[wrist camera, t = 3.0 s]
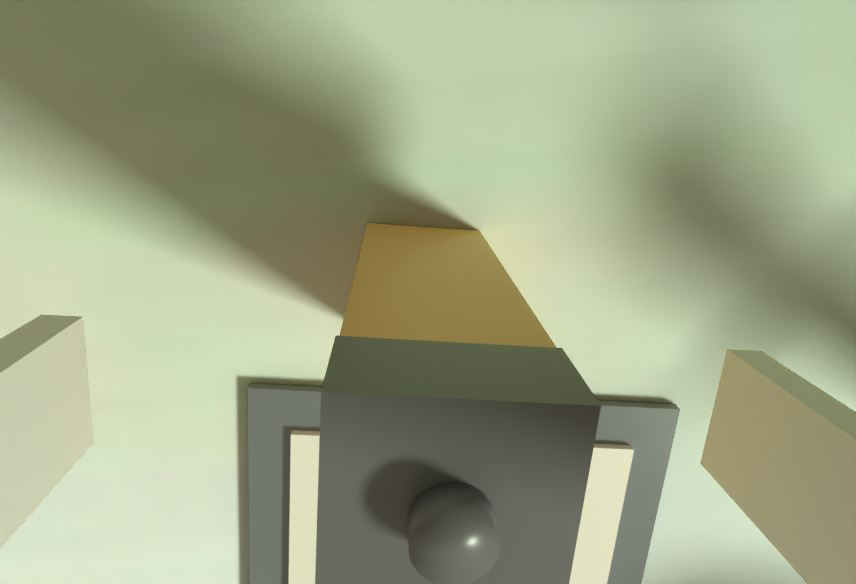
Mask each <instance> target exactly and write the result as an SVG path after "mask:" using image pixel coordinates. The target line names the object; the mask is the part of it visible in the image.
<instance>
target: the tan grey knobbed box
mask: <svg viewBox="0 0 856 584" xmlns="http://www.w3.org/2000/svg"><path fill="white" fill-rule="evenodd" d="M600 409H601V405H600V403H599V402H598V400H597V399H596V397H595V396H594V395H593V393H592V392H591V390H590V389H589V387H588V386H587V384H586V383H585V381H584V380H583V378H582V377H581V375H580V374H579V372H578V371H577V370H576V368H575V367H574V365H573V364H572V362H571V361H570V359H569V358H568V356H567V355H566V353H565V352H564V350H563V349H562V348H556V346H555V345H554V343H553V342H552V340H551V339H550V337H549V336H548V334H547V332H546V331H545V329H544V328H543V326H542V325H541V323H540V322H539V320H538V319H537V317H536V316H535V314H534V313H533V311H532V310H531V308H530V307H529V305H528V304H527V302H526V301H525V299H524V298H523V296H522V295H521V293H520V292H519V290H518V288H517V287H516V285H515V284H514V282H513V281H512V279H511V278H510V276H509V275H508V273H507V272H506V270H505V269H504V267H503V266H502V264H501V263H500V261H499V260H498V258H497V257H496V255H495V254H494V252H493V251H492V249H491V247H490V246H489V244H488V243H487V241H486V240H485V238H484V237H483V235H482V234H481V232H480V231H478V230H463V229H449V228H434V227H420V226H405V225H391V224H376V223H367V227H366V231H365V235H364V239H363V243H362V247H361V251H360V255H359V259H358V263H357V267H356V271H355V275H354V279H353V283H352V287H351V292H350V296H349V300H348V304H347V308H346V312H345V316H344V320H343V324H342V328H341V332H340V336H336V337H335V341H334V344H333V348H332V352H331V356H330V359H329V363H328V367H327V371H326V375H325V378H324V382H323V386H322V390H321V406H320V438H319V471H318V504H317V536H316V569H315V584H569V581H570V575H571V570H572V564H573V559H574V553H575V548H576V542H577V537H578V531H579V526H580V520H581V515H582V509H583V504H584V498H585V492H586V487H587V481H588V476H589V470H590V465H591V459H592V454H593V448H594V443H595V437H596V432H597V426H598V420H599V415H600Z"/></svg>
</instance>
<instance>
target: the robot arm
mask: <svg viewBox="0 0 856 584" xmlns="http://www.w3.org/2000/svg"><path fill="white" fill-rule="evenodd" d="M93 443H94V439H93V428H92V416H91V405H90V393H89V382H88V370H87V359H86V348H85V336H84V325H83V317H77V316H58V315H40V316H38V317H37V318H35V319H33V320H32V321H30V322H28V323H27V324H25V325H23V326H21V327H20V328H18V329H16V330H15V331H13V332H11V333H10V334H8V335H6V336H5V337H3V338H1V339H0V549H1V548H2V546H3V545H4V544H5V543H6V542H7V541H8V540H9V538H10V537H11V536H12V535H13V534H14V533H15V532H16V531H17V529H18V528H19V527H20V526H21V525H22V524H23V523H24V521H25V520H26V519H27V518H28V517H29V516H30V515H31V513H32V512H33V511H34V510H35V509H36V508H37V507H38V506H39V504H40V503H41V502H42V501H43V500H44V499H45V498H46V496H47V495H48V494H49V493H50V492H51V491H52V490H53V488H54V487H55V486H56V485H57V484H58V483H59V482H60V481H61V479H62V478H63V477H64V476H65V475H66V474H67V473H68V471H69V470H70V469H71V468H72V467H73V466H74V465H75V463H76V462H77V461H78V460H79V459H80V458H81V457H82V456H83V454H84V453H85V452H86V451H87V450H88V449H89V448H90V446H91V445H92V444H93ZM701 464H702V465H703V467H704V468H705V469H706V470H707V471H708V472H709V473H710V474H711V476H712V477H713V478H714V479H715V480H716V481H717V482H718V483H719V485H720V486H721V487H722V488H723V489H724V490H725V491H726V492H727V494H728V495H729V496H730V497H731V498H732V499H733V500H734V501H735V503H736V504H737V505H738V506H739V507H740V508H741V509H742V510H743V512H744V513H745V514H746V515H747V516H748V517H749V518H750V519H751V521H752V522H753V523H754V524H755V525H756V526H757V527H758V528H759V530H760V531H761V532H762V533H763V534H764V535H765V536H766V537H767V539H768V540H769V541H770V542H771V543H772V544H773V545H774V546H775V548H776V549H777V550H778V551H779V552H780V553H781V554H782V555H783V557H784V558H785V559H786V560H787V561H788V562H789V563H790V564H791V566H792V567H793V568H794V569H795V570H796V571H797V572H798V573H799V575H800V576H801V577H802V578H803V579H804V580H805V581H806V582H807V584H856V412H855V411H853V410H852V409H850V408H849V407H847V406H846V405H844V404H842V403H841V402H839V401H838V400H836V399H835V398H833V397H832V396H830V395H828V394H827V393H825V392H824V391H822V390H821V389H819V388H818V387H816V386H815V385H813V384H811V383H810V382H808V381H807V380H805V379H804V378H802V377H801V376H799V375H797V374H796V373H794V372H793V371H791V370H790V369H788V368H787V367H785V366H783V365H782V364H780V363H779V362H777V361H776V360H774V359H773V358H771V357H769V356H768V355H766V354H765V353H763V352H762V351H745V350H727V353H726V357H725V361H724V366H723V370H722V374H721V378H720V383H719V387H718V391H717V395H716V400H715V404H714V408H713V412H712V417H711V421H710V425H709V429H708V434H707V438H706V442H705V446H704V451H703V455H702V459H701Z"/></svg>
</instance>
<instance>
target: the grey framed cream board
mask: <svg viewBox="0 0 856 584" xmlns="http://www.w3.org/2000/svg"><path fill="white" fill-rule="evenodd" d="M321 390H322V387H318V386H298V385H278V384H258V383H250V385H249V387H248V502H249V584H315V569H316V536H317V504H318V471H319V438H320V406H321ZM598 402H599V403H600V405H601V409H600V415H599V420H598V426H597V432H596V437H595V443H594V448H593V454H592V459H591V465H590V470H589V476H588V481H587V487H586V492H585V498H584V504H583V509H582V515H581V520H580V526H579V531H578V537H577V542H576V548H575V553H574V559H573V564H572V570H571V575H570V581H569V584H641V582H642V577H643V573H644V568H645V564H646V559H647V555H648V550H649V546H650V541H651V537H652V532H653V528H654V523H655V519H656V514H657V510H658V505H659V501H660V496H661V492H662V487H663V483H664V478H665V474H666V469H667V465H668V461H669V456H670V452H671V447H672V443H673V438H674V434H675V429H676V425H677V420H678V416H679V411H680V409H679V408H678V407H677V406H676V405H675V404H662V403H642V402H621V401H601V400H598Z"/></svg>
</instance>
